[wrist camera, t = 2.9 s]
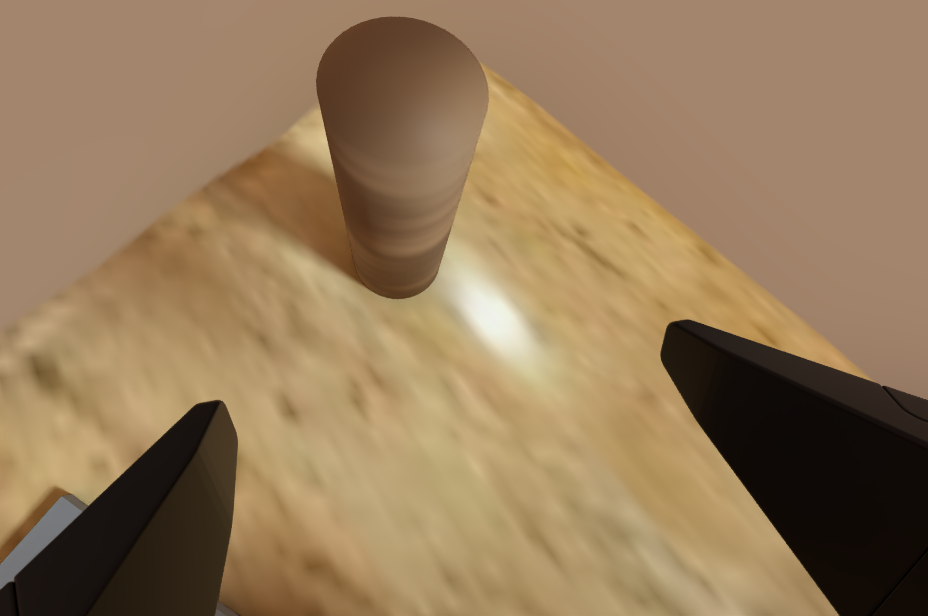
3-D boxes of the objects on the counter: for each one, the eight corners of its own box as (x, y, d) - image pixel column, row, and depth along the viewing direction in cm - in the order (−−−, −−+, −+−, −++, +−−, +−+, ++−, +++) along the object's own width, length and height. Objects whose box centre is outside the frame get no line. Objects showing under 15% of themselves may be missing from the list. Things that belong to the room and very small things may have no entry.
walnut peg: (456, 250, 24) (519, 80, 13) (407, 315, 23) (425, 195, 11) (388, 203, 25) (386, -11, 13) (335, 265, 23) (278, 93, 11)
